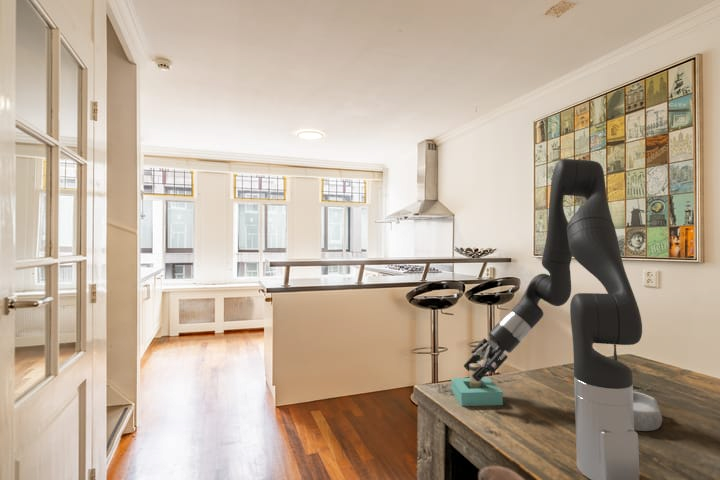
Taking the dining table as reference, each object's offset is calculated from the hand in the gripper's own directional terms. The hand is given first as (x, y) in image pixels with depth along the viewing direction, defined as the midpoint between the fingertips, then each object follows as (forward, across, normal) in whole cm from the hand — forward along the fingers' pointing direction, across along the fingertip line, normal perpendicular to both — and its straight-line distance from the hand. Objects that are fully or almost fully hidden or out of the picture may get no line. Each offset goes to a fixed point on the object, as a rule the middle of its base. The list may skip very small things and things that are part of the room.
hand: (470, 373), depth 106 cm
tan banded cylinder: (+4, 0, +6) cm, 7 cm away
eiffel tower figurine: (-27, -8, +38) cm, 47 cm away
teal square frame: (+4, 0, +6) cm, 7 cm away
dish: (-19, +15, +29) cm, 37 cm away
